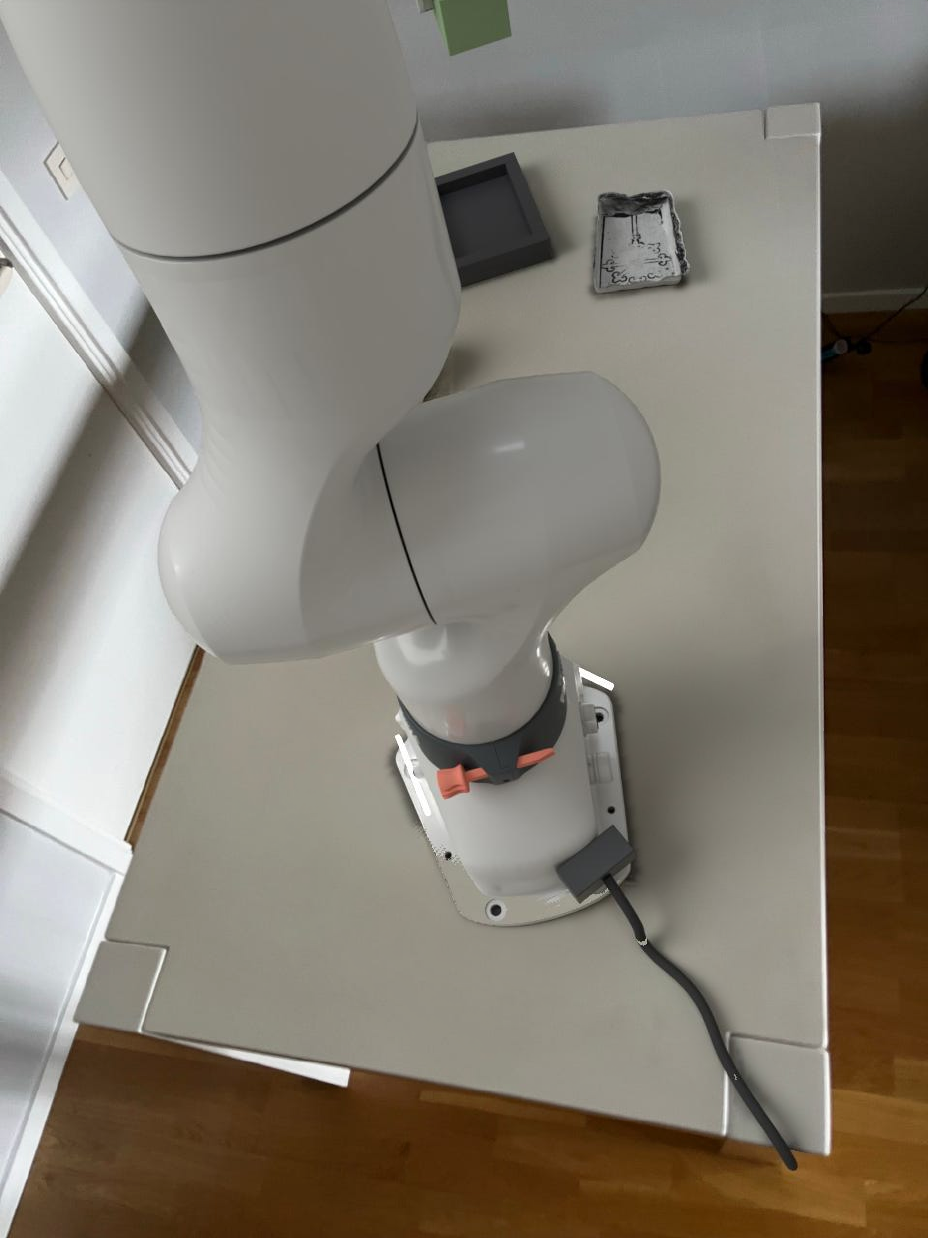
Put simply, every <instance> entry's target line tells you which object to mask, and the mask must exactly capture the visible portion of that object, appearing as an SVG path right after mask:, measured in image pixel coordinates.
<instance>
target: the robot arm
mask: <svg viewBox="0 0 928 1238" xmlns="http://www.w3.org/2000/svg"><path fill="white" fill-rule="evenodd" d="M414 2H415V5H416V8H417V10H418V13H419V14H420V15H421V14H424V13H426V12H430V11H432V9H435V4H434V0H415V1H414ZM0 21H1V23H2V25H3V26H2V27H3V28H4V30H5V32H6V35H7V38H8V40H9V42H10V45H11V46H12V49H13V51H14V53H15V56H16V58H17V61H18V62H19V64H20V66H21V69H22V71H23V74H24V75H25V77H26V80H27V81H28V83H29V86H30V88H31V90H32V92H33V94H34V97H35V99H36V101H37V103H38V104H39V107H40V109H41V111H42V113H43V115H44V117H45V120H46V122H47V124H48V125H49V127H50V129H51V131H52V133H53V136H54V137H55V139H56V141H57V143H58V144H59V147H60V148H61V150H62V152H63V154H64V157H65V159H66V160H67V162H68V164H69V166H70V168H71V170H72V172H73V173H74V176H75V177H76V178H77V180H78V182H79V184H80V185H81V188H82V189H83V191H84V193H85V194H86V196H87V198H88V200H89V201H90V203H91V205H92V207H93V208H94V210H95V213H96V214H97V216H98V218H99V219H100V220H101V222H102V225H103V226H104V227H105V229H106V230H107V232H108V234H109V236H110V238H111V240H112V241H113V242H114V244H115V246H116V248H117V249H118V250H119V252H120V254H121V257H122V258H123V259H124V261H125V263H126V264H127V267H128V268H129V269H130V271H131V273H132V274H133V276H134V278H135V280H136V281H137V283H138V284H139V287H140V288H141V290H142V292H143V293H144V296H145V297H146V299H147V300H148V302H149V304H150V306H151V308H152V310H153V311H154V313H155V315H156V317H157V319H158V321H159V323H160V324H161V327H162V329H163V330H164V332H165V334H166V336H167V338H168V339H169V340H168V341H170V344H171V345H172V347H173V349H174V352H175V353H176V355H177V357H178V359H179V361H180V363H181V366H182V367H183V370H184V371H185V374H186V376H187V378H188V380H189V382H190V385H191V387H192V389H193V392H194V394H195V397H196V400H197V404H198V407H199V408H198V409H199V412H200V419H201V444H200V450H199V454H198V457H197V461H196V463H195V465H194V468H193V469H192V472H191V474H190V475H189V477H188V478H187V480H186V482H185V483H184V484H183V485H182V487H181V488H180V490H179V491H178V492H177V493H176V494H175V495H174V496H173V498H172V499H171V500H170V503H169V505H168V507H167V509H166V511H165V514H164V517H163V520H162V523H161V525H160V530H159V536H158V541H157V551H156V552H157V555H156V556H157V559H156V560H157V561H156V562H157V564H156V565H157V573H158V578H159V582H160V587H161V590H162V593H163V596H164V599H165V602H166V603H167V606H168V608H169V610H170V612H171V614H172V615H173V617H174V619H175V620H176V622H177V623H178V625H179V626H180V628H181V629H182V630H183V631H184V632H185V633H186V634H187V636H188V637H189V638H190V639H191V640H192V641H193V642H194V643H195V644H197V646H199V647H200V648H201V649H202V650H204V651H205V652H207V653H208V654H209V655H210V656H212V657H214V658H216V659H217V660H219V661H221V662H223V663H224V664H227V665H229V666H246V665H261V664H276V663H277V664H278V663H288V662H298V661H306V660H316V659H322V658H326V657H329V656H333V655H336V654H340V653H343V652H347V651H350V650H354V649H357V648H361V647H364V646H367V645H372V644H373V649H374V654H375V659H376V661H377V665H378V667H379V670H380V671H381V674H382V675H383V677H384V678H385V680H386V681H387V683H388V684H389V686H390V687H391V689H392V690H393V691H394V693H395V694H396V698H397V701H398V705H399V709H398V712H397V714H396V715H395V716H394V717H395V721H396V723H397V724H399V726H400V727H401V728H402V729H403V730H404V732H405V733H406V737H407V738H406V740H405V741H404V742H403V739H402V737H401V736H400V734H397V735H395V739H396V741H397V744H398V746H399V748H398V750H397V751H396V755H395V763H396V766H397V768H398V771H399V773H400V776H401V779H402V780H403V783H404V785H405V788H406V791H407V793H408V795H409V798H410V799H411V802H412V804H413V805H414V809H415V811H416V813H417V816H418V818H419V821H420V823H421V825H422V827H423V830H424V833H425V835H426V834H427V835H426V838H427V839H428V838H429V840H428V842H429V841H431V844H433V845H432V847H431V849H432V848H433V849H434V847H436V848H435V849H434V851H433V849H432V851H433V853H434V852H436V850H438V849H439V850H438V852H437V853H436V856H437V855H439V853H441V852H442V853H441V855H440V856H443V855H444V854H443V853H445V856H444V857H445V858H446V859H448V860H449V859H450V858H452V857H455V855H457V856H456V857H455V858H454V859H453V860H452V862H454V860H457V859H456V858H460V859H459V860H458V861H461V862H462V864H461V865H463V866H464V868H465V870H466V871H467V873H468V875H469V876H470V877H471V879H472V880H473V881H474V883H475V885H476V886H477V888H478V889H479V890H480V891H481V892H482V893H484V894H485V895H489V896H492V897H495V896H496V897H502V898H504V897H510V898H512V897H515V896H520V897H528V898H531V897H534V896H533V895H535V896H538V895H541V897H540V898H539V899H538V900H542V899H546V898H549V897H552V896H555V895H558V896H556V897H554V898H552V899H550V900H549V901H547V902H546V903H549V902H552V903H553V901H555V902H557V901H556V900H559V899H561V898H562V897H565V896H567V895H566V894H568V893H571V894H572V896H573V897H574V898H575V899H576V901H577V902H578V903H579V904H581V903H582V902H583V901H584V900H585V899H587V898H588V897H589V896H590V895H592V894H595V895H596V894H600V893H602V894H603V892H604V893H605V890H606V889H607V888H608V890H609V891H607V892H606V893H605V894H603V895H602V896H600V897H599V898H597V899H595V900H593V901H591V902H590V903H587V904H585V905H583V906H581V907H579V908H576V909H573V910H571V911H568V912H565V913H562V914H559V915H555V916H552V917H548V918H544V919H540V920H535V921H529V922H523V923H513V924H496V923H488V924H487V925H486V926H491V927H520V926H521V927H522V926H528V925H533V924H538V923H543V922H547V921H551V920H555V919H558V918H561V917H564V916H569V915H571V914H574V913H576V912H579V911H581V910H583V909H586V908H588V907H590V906H592V905H594V904H596V903H598V902H600V901H601V900H603V899H604V898H605V897H607V896H609V895H610V894H611V896H612V897H613V899H614V900H615V902H616V903H617V906H618V907H619V908H620V910H621V911H622V913H623V915H624V916H625V918H626V919H627V921H628V922H629V924H630V926H631V928H632V929H633V930H632V931H633V933H634V937H635V940H636V939H637V940H638V941H640V942H642V941H645V939H646V937H647V935H646V931H645V927H644V924H643V922H642V920H641V919H640V917H639V914H638V913H637V911H636V910H635V908H634V907H633V906H632V904H631V902H630V901H629V899H628V897H627V896H626V895H625V893H624V891H623V890H622V889H621V887H620V885H621V884H622V883H623V882H624V881H625V880H626V878H627V877H628V876H629V874H630V873H631V869H632V863H633V861H635V860H636V852H635V848H634V847H633V846H632V845H631V843H630V842H629V833H628V825H627V815H626V808H625V799H624V792H623V791H624V790H623V784H622V774H621V765H620V757H619V748H618V740H617V732H616V722H615V714H614V705H613V703H612V701H611V697H610V696H609V695H608V694H607V693H605V692H604V691H602V690H600V689H597V688H594V687H592V686H587V685H583V679H582V678H585V679H587V680H589V681H592V682H594V683H595V684H597V685H600V686H602V687H604V688H606V689H608V690H610V691H612V690H613V688H614V683H612V682H610V681H608V680H606V679H604V678H601V677H599V676H597V675H595V674H593V673H591V672H590V671H587V670H585V669H583V668H581V667H580V665H579V663H577V662H574V660H572V659H570V658H568V657H566V656H564V655H562V654H560V652H559V650H558V649H557V644H556V642H555V641H554V639H553V637H552V636H551V633H550V632H549V628H550V627H551V626H552V624H553V623H554V622H555V620H556V619H557V617H559V615H560V614H561V613H562V612H563V610H565V608H566V607H567V606H568V605H569V604H570V603H571V602H572V601H573V600H574V599H575V598H576V597H577V596H578V595H579V594H580V593H581V592H582V591H583V590H584V589H586V588H587V587H588V586H589V585H590V584H592V583H593V582H595V581H596V580H597V579H598V578H599V577H601V576H602V575H603V574H605V573H607V572H608V571H609V570H611V569H612V568H614V567H615V566H617V565H619V563H621V562H623V561H625V560H626V559H628V558H630V557H631V556H633V555H634V554H637V552H639V551H640V550H641V548H642V546H643V545H644V543H645V542H646V540H647V538H648V536H649V534H650V532H651V529H652V527H653V525H654V523H655V519H656V517H657V516H656V515H657V513H658V510H659V504H660V500H661V492H662V491H661V490H662V471H661V470H662V468H661V461H660V455H659V451H658V447H657V443H656V441H655V438H654V437H655V436H654V435H653V433H652V431H651V428H650V426H649V424H648V422H647V421H646V419H645V417H644V416H643V414H642V412H641V411H640V410H639V408H638V407H637V405H636V404H635V403H634V401H632V400H631V399H630V397H629V396H628V395H627V394H626V393H624V391H623V390H621V389H620V388H619V387H617V386H618V385H617V386H616V385H615V384H614V383H612V382H611V381H609V380H608V379H607V378H605V377H603V376H602V375H600V374H598V373H596V372H594V371H591V370H585V371H583V370H582V371H573V372H572V371H571V372H559V373H546V374H545V373H544V374H535V375H528V376H527V375H526V376H518V377H508V378H500V379H497V380H493V381H490V382H487V383H483V384H480V385H477V386H473V387H470V388H467V389H464V390H460V391H456V392H453V393H450V394H447V395H444V396H440V397H437V398H434V399H431V400H427V401H423V403H421V404H419V402H420V401H421V400H422V399H423V398H425V396H427V394H428V393H429V392H430V390H431V389H432V388H433V386H434V384H435V383H436V381H437V380H438V378H439V376H440V374H441V372H442V370H443V368H444V366H445V363H446V361H447V359H448V356H449V354H450V352H451V348H452V346H453V342H454V340H455V337H456V334H457V329H458V325H459V321H460V317H461V316H460V315H461V308H462V287H461V283H460V279H459V274H458V270H457V266H456V262H455V258H454V254H453V250H452V246H451V242H450V238H449V234H448V230H447V226H446V222H445V218H444V214H443V210H442V206H441V202H440V198H439V194H438V190H437V186H436V182H435V175H434V171H433V166H432V163H431V162H432V161H431V159H430V154H429V150H428V147H427V143H426V138H425V135H424V130H423V127H422V123H421V119H420V115H419V110H418V107H417V104H416V99H415V95H414V92H413V87H412V83H411V80H410V76H409V73H408V69H407V65H406V62H405V58H404V55H403V50H402V46H401V43H400V40H399V36H398V34H397V31H396V27H395V24H394V21H393V18H392V15H391V11H390V8H389V5H388V2H387V0H0ZM423 400H424V399H423ZM598 716H600V717H602V718H603V719H602V721H600V722H599V720H598V719H597V717H598ZM610 810H613V811H614V812H612V813H610V812H609V811H610ZM425 829H426V830H425ZM425 831H426V832H425ZM431 844H430V845H431ZM442 845H443V846H442ZM440 847H441V848H440ZM443 848H446V849H445V850H444V849H443ZM442 850H444V851H442ZM445 851H449V852H445ZM449 855H451V856H450V858H448V856H449ZM436 856H435V859H436V860H437V858H436ZM440 856H439V857H440ZM443 859H444V858H443ZM441 861H442V860H441ZM458 861H457V863H459V862H458ZM438 865H439V864H438ZM455 865H456V864H455ZM461 865H460V866H461ZM439 867H440V865H439ZM463 870H464V869H463ZM441 874H443V872H442V871H441ZM443 877H444V876H443ZM444 879H445V877H444ZM617 880H618V881H619V880H620V881H619V882H618V881H617ZM617 882H618V883H617ZM446 885H447V886H448V884H447V883H446ZM566 889H568V890H569V891H567V890H566ZM564 890H566V891H567V892H565V893H563V894H560V892H561V893H562V891H563V892H564ZM449 892H450V893H451V891H450V890H449ZM554 894H555V895H554ZM559 894H560V895H559ZM551 895H552V896H551ZM564 895H565V896H564ZM568 895H569V894H568ZM530 896H531V897H530ZM548 896H549V897H548ZM561 896H562V897H561ZM451 897H452V899H453V900H454V898H453V896H452V895H451ZM544 897H545V898H544ZM560 897H561V898H560ZM516 898H517V897H516ZM541 898H542V899H541ZM538 900H537V901H538ZM546 900H547V899H546ZM559 901H560V900H559ZM546 903H545V904H546ZM549 904H550V903H549ZM546 905H547V904H546ZM455 906H456V908H457V910H458V911H459V909H458V907H457V905H456V904H455ZM558 906H560V905H558ZM495 907H500V908H501V909H500V910H501V911H500V913H499V914H498V915H494V914H493V909H494V908H495ZM556 907H557V906H556ZM506 911H507V908H506V905H505V903H504V902H503V901H502V900H500V899H492V900H490V901H489V902H488V903H487V904H486V907H485V914H486V916H487V918H488V919H489V920H490V919H491V921H494V922H497V921H500V920H502V919H503V918H504V917H505V915H506ZM459 913H460V915H461V914H462V913H461V912H459ZM492 917H493V918H492ZM467 920H468V921H471V919H470V918H469V919H467ZM477 922H479V921H477V920H475V921H474V922H473V923H477ZM479 924H480V925H485V923H484V922H482V921H481V923H479ZM492 924H495V926H493V925H492ZM502 925H503V926H502ZM637 940H636V941H637ZM637 944H638V945H639V948H640V949H641V950H642V951H643V952H644V953H645V954H646V955H647V957H648V958H649V959H650V960H651V961H652V962H653V963H655V964H656V965H657V966H658V967H659V968H660V969H661V970H662V971H664V972H665V973H666V974H667V975H669V976H670V977H671V978H672V979H673V980H674V981H675V982H676V983H677V984H678V985H680V987H681V988H682V989H683V990H684V991H685V992H686V993H687V994H688V996H689V997H690V998H691V1000H692V1002H693V1003H694V1004H695V1006H696V1008H697V1010H698V1012H699V1014H700V1015H701V1018H702V1020H703V1022H704V1024H705V1027H706V1030H707V1033H708V1035H709V1038H710V1041H711V1043H712V1046H713V1048H714V1050H715V1053H716V1055H717V1057H718V1060H719V1062H720V1064H721V1066H722V1067H723V1070H724V1071H725V1073H726V1075H727V1077H728V1078H729V1080H730V1081H731V1083H732V1085H733V1087H734V1088H735V1090H736V1091H737V1093H738V1095H739V1096H740V1097H741V1099H742V1101H743V1103H744V1104H745V1105H746V1107H747V1108H748V1111H750V1113H751V1114H752V1116H753V1117H754V1119H755V1120H756V1122H757V1123H758V1124H759V1126H760V1127H761V1129H762V1130H763V1132H764V1133H765V1135H766V1136H767V1138H768V1139H769V1141H770V1142H771V1144H772V1146H773V1147H774V1148H775V1147H776V1148H775V1150H776V1152H777V1153H778V1155H779V1157H780V1158H781V1161H783V1164H784V1165H785V1167H786V1168H787V1170H790V1171H791V1172H795V1171H797V1170H798V1168H799V1165H798V1161H797V1159H796V1157H795V1156H794V1154H793V1152H792V1151H791V1148H790V1147H789V1145H788V1144H787V1142H786V1141H785V1139H784V1138H783V1136H782V1135H781V1133H780V1132H779V1130H778V1128H777V1127H776V1126H775V1125H774V1123H773V1121H772V1120H771V1119H770V1117H769V1115H768V1114H767V1112H766V1111H765V1110H764V1109H763V1107H762V1105H761V1104H760V1103H759V1101H758V1100H757V1098H756V1097H755V1095H754V1094H753V1093H752V1091H751V1089H750V1088H749V1086H748V1085H747V1083H746V1081H745V1080H744V1078H743V1077H742V1075H741V1073H740V1071H739V1069H738V1068H737V1066H736V1065H735V1063H734V1061H733V1058H732V1057H731V1055H730V1052H729V1051H728V1049H727V1046H726V1044H725V1042H724V1041H725V1040H724V1039H723V1036H722V1034H721V1031H720V1028H719V1026H718V1023H717V1021H716V1018H715V1016H714V1013H713V1011H712V1009H711V1007H710V1006H709V1005H710V1004H708V1002H707V1000H706V998H705V997H704V996H703V994H702V992H701V991H700V990H699V988H698V987H697V986H696V984H694V982H693V981H692V980H691V979H690V978H689V977H688V976H687V975H686V974H685V973H684V972H683V971H682V970H681V969H680V968H679V967H677V966H676V965H674V963H673V962H671V961H670V960H668V959H667V957H665V956H664V955H663V954H662V953H661V952H659V951H658V949H657V948H655V946H654V945H653V944H652V942H650V940H649V939H648V938H647V944H646V945H644V946H643V945H640V944H639V943H638V942H637ZM734 1074H735V1075H736V1077H737V1078H736V1079H737V1080H735V1076H734Z"/></svg>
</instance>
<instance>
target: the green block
mask: <svg viewBox="0 0 928 1238" xmlns="http://www.w3.org/2000/svg"><path fill="white" fill-rule="evenodd" d="M434 4H435V9H432V10H431V11H432V14H433V16H434V18H435V21H436V24H437V26H438V30H439V32H440V35H441V37H442V40H443V43H444V45H445V48H446V50H447V53H448V57H453V56H456V55H460V54H463V53H465V52H469V51H472V50H474V49H478V48H480V47H483V46H487V45H489V44H493V43H495V42H498V41H499V42H500V41H501V40H504V39H508V38H510V37H512V35H513V34H512V28H511V20H510V14H509V5H508V0H434Z"/></svg>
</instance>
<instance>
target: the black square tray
mask: <svg viewBox="0 0 928 1238" xmlns="http://www.w3.org/2000/svg"><path fill="white" fill-rule="evenodd" d="M434 178H435V182H436V186H437V190H438V194H439V198H440V202H441V206H442V210H443V214H444V218H445V222H446V226H447V230H448V234H449V238H450V242H451V246H452V250H453V254H454V258H455V262H456V266H457V270H458V274H459V279H460V283H461V288H463V287H465V286H469V285H472V284H475V283H478V282H481V281H484V280H487V279H491V278H493V277H497V276H500V275H503V274H507V273H509V272H510V273H511V272H512V271H516V270H519V269H522V268H526V267H528V266H531V265H535V264H537V263H541V262H543V261H547V260H551V259H553V253H552V252H553V251H552V243H551V237H550V235H549V233H548V230H547V228H546V226H545V223H544V220H543V218H542V216H541V214H540V210H539V209H538V206H537V205H536V202H535V199H534V197H533V195H532V192H531V190H530V187H529V185H528V182H527V180H526V177H525V174H524V173H523V170H522V168H521V165H520V163H519V161H518V158H517V156H516V153H515V152H514V151H511V152H510V153H506V154H503V155H500V156H496V157H494V158H491V159H487V160H485V161H481V162H479V163H475V164H472V165H470V166H466V167H463V168H460V169H457V170H454V171H452V172H451V171H450V172H447V173H444V174H442V175H439V176H434Z"/></svg>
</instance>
